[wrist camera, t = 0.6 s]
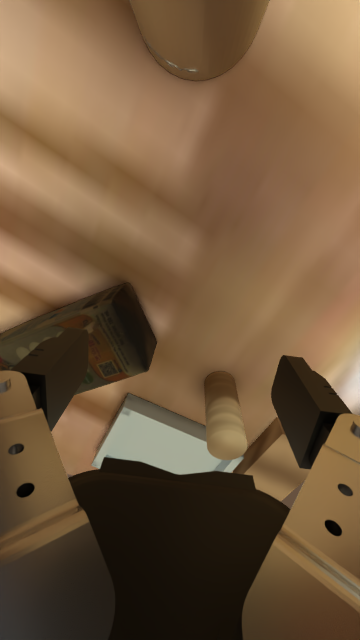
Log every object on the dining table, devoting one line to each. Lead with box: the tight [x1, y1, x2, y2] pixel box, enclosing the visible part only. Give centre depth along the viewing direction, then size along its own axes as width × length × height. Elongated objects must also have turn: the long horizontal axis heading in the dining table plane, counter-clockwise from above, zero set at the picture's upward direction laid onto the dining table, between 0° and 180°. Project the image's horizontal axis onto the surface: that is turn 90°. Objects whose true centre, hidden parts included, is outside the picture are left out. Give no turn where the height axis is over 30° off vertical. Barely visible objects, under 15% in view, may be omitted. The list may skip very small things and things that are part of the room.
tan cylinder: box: [204, 371, 247, 460], centre depth 30 cm, size 4×4×9 cm
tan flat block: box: [233, 418, 310, 502], centre depth 37 cm, size 10×7×3 cm
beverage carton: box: [0, 283, 157, 395], centre depth 30 cm, size 8×19×7 cm, turn 112°
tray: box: [91, 393, 244, 475], centre depth 38 cm, size 11×16×2 cm
